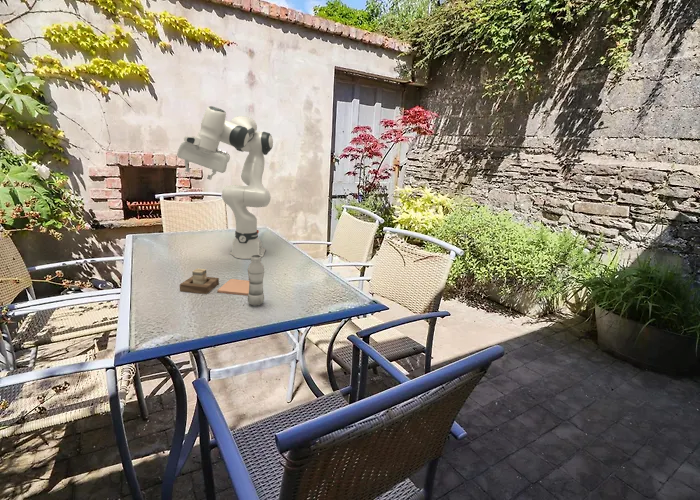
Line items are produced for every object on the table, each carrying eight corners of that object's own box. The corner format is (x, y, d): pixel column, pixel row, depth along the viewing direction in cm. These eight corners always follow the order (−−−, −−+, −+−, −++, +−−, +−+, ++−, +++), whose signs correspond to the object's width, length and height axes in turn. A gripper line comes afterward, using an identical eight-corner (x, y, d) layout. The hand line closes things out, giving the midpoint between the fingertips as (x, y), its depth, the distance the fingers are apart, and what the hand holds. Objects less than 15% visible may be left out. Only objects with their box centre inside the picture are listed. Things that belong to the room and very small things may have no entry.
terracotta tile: (230, 280, 161) (230, 278, 161) (260, 283, 161) (260, 281, 160) (217, 292, 148) (217, 290, 148) (249, 295, 147) (249, 293, 147)
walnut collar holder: (193, 281, 157) (193, 275, 156) (218, 284, 157) (218, 277, 156) (179, 291, 146) (179, 284, 145) (206, 294, 146) (206, 287, 145)
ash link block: (197, 285, 153) (197, 268, 151) (206, 286, 153) (206, 269, 151) (193, 289, 150) (192, 271, 147) (202, 290, 149) (201, 272, 147)
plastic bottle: (247, 308, 136) (247, 259, 131) (247, 300, 142) (247, 253, 137) (264, 307, 138) (265, 258, 133) (263, 300, 144) (264, 253, 139)
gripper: (232, 153, 157) (223, 183, 159) (185, 136, 152) (176, 167, 155) (229, 153, 151) (220, 184, 153) (180, 135, 146) (172, 167, 149)
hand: (198, 175), depth 154 cm, fingers open, 8 cm apart
